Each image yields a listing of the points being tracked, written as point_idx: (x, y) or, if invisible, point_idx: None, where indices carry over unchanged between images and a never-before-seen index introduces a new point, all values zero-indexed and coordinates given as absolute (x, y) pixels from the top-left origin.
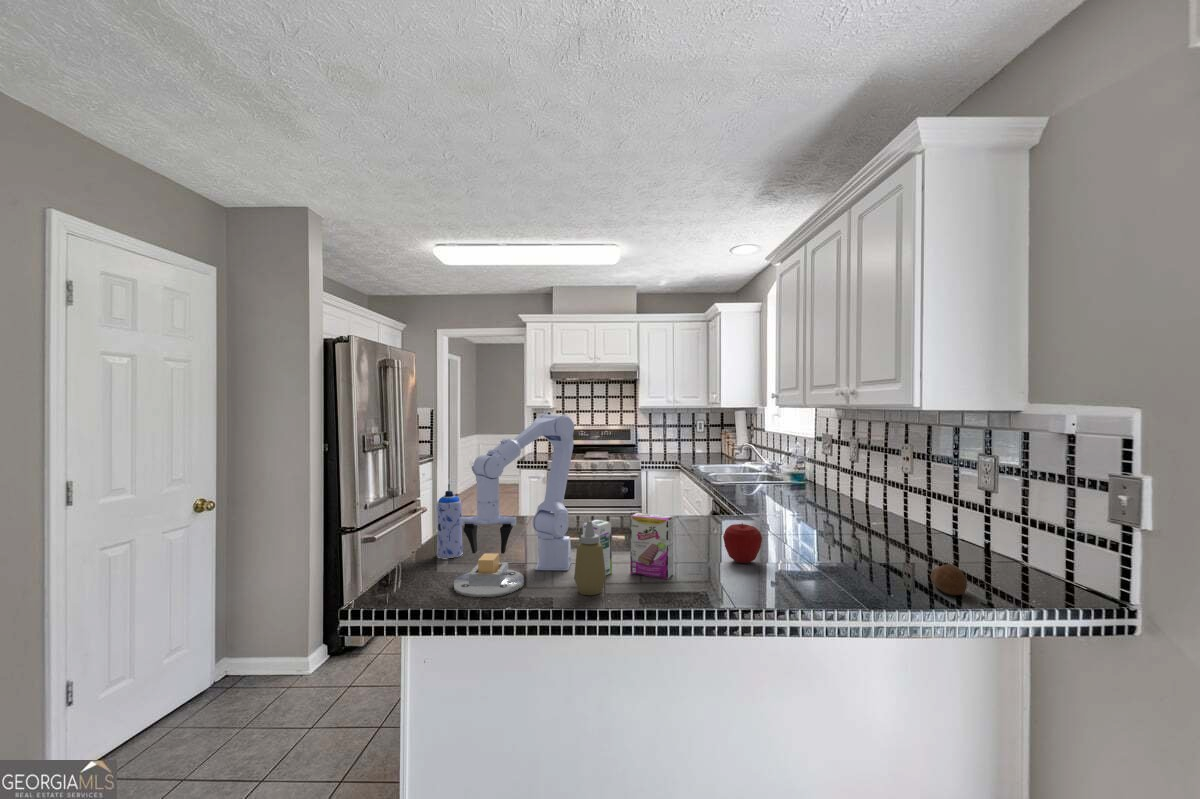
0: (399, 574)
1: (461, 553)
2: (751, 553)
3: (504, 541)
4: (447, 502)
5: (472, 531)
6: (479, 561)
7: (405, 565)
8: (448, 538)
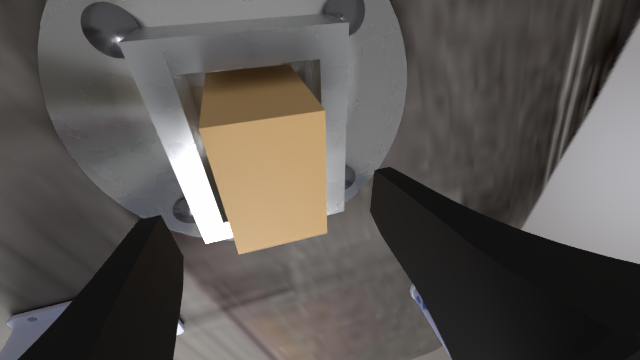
0: (555, 146)
1: (414, 291)
2: None
3: (59, 324)
4: None
5: (552, 315)
6: (312, 106)
7: (532, 204)
8: None
